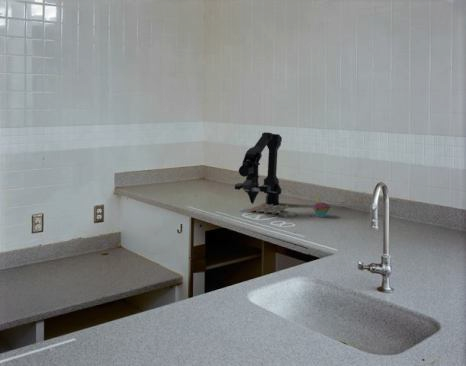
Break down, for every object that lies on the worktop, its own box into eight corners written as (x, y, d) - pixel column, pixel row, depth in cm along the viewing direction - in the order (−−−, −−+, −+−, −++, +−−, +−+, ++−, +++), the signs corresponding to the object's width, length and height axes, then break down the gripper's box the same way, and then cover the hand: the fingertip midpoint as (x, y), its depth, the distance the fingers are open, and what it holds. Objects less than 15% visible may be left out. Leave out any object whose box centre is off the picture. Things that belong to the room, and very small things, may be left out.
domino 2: (255, 210, 290) (268, 205, 286) (259, 208, 294) (272, 203, 291) (256, 212, 290) (270, 208, 286) (260, 211, 294) (273, 206, 291)
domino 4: (271, 211, 286) (284, 206, 282) (275, 210, 290) (287, 204, 287) (272, 214, 286) (285, 208, 282) (276, 212, 290) (289, 207, 287)
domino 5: (279, 211, 284) (293, 214, 281) (282, 210, 288) (297, 212, 285) (278, 214, 284) (293, 217, 281) (282, 213, 289) (296, 215, 285)
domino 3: (263, 210, 288) (276, 206, 284) (267, 209, 292) (280, 204, 289) (264, 213, 288) (277, 209, 284) (268, 211, 292) (281, 207, 289)
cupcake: (319, 218, 279) (320, 195, 277) (309, 215, 287) (310, 192, 285) (332, 217, 283) (333, 194, 281) (322, 213, 290) (323, 191, 289)
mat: (238, 212, 292) (238, 211, 292) (246, 209, 300) (246, 208, 300) (283, 217, 281) (283, 216, 281) (289, 214, 289) (289, 213, 289)
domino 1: (248, 209, 292) (261, 204, 288) (252, 207, 296) (265, 203, 292) (249, 212, 292) (262, 207, 288) (253, 210, 296) (266, 206, 292)
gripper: (230, 174, 287) (229, 204, 290) (263, 177, 279) (262, 208, 282) (239, 172, 297) (239, 200, 300) (271, 174, 289) (270, 204, 292)
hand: (252, 203), depth 293 cm, fingers closed
